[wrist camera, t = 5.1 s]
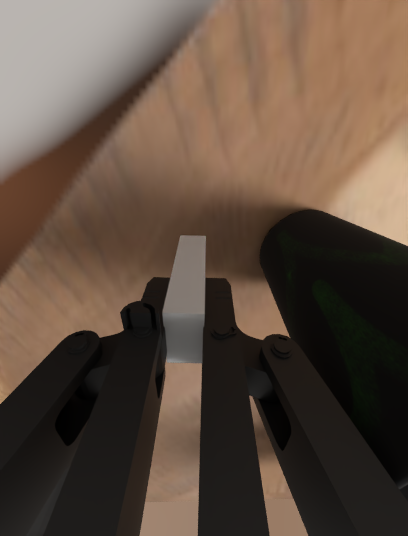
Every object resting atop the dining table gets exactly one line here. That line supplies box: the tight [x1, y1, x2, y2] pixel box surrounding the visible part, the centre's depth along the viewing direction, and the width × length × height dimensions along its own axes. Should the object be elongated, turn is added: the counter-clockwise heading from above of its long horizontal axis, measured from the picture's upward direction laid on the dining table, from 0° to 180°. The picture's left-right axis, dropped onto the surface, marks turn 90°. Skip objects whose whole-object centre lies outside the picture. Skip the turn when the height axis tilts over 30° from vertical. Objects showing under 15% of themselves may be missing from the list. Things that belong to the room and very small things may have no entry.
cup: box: [260, 210, 408, 501], centre depth 11 cm, size 8×8×12 cm
